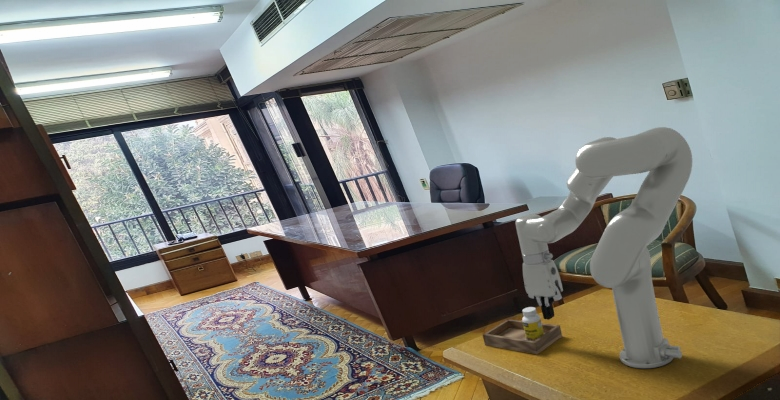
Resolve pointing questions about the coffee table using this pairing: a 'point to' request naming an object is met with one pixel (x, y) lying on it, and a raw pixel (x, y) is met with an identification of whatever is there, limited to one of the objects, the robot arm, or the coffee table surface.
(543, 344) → the tray
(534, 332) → the supplement bottle
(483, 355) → the coffee table surface
